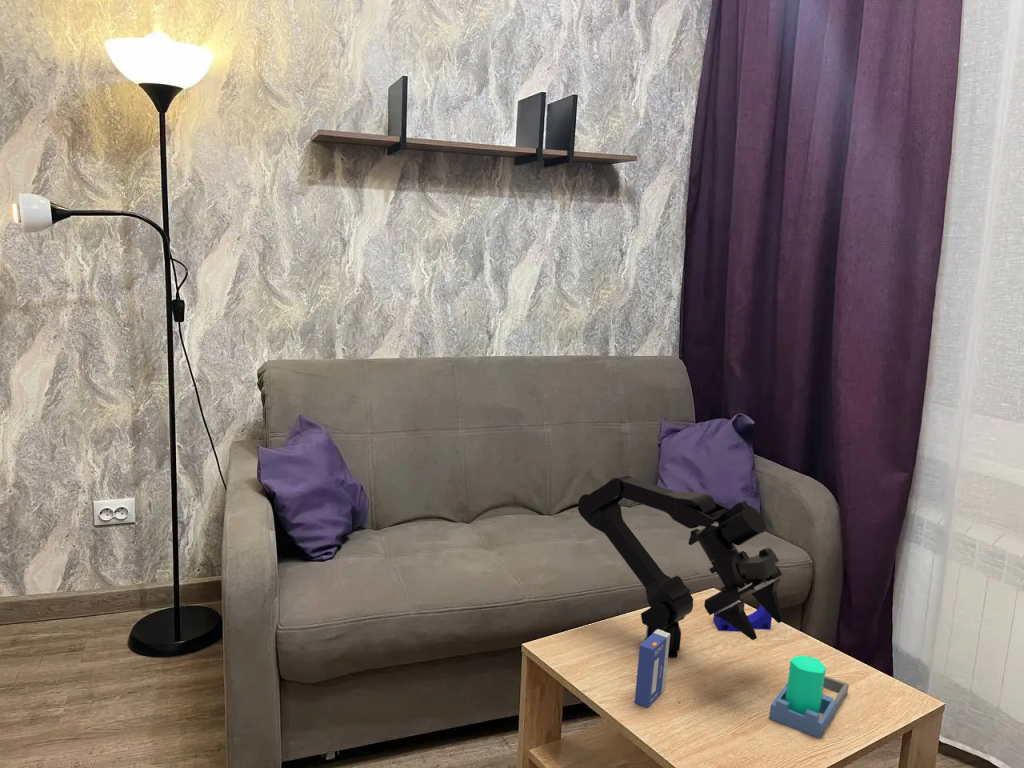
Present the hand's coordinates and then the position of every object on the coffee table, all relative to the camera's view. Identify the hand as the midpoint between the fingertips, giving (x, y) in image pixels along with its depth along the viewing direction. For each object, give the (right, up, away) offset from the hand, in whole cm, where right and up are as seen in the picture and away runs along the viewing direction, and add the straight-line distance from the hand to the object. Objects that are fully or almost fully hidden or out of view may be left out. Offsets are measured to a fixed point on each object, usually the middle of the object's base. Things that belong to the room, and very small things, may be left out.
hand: (768, 630), depth 152 cm
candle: (+5, -15, -3) cm, 16 cm away
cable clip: (+3, -8, +29) cm, 31 cm away
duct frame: (+8, -14, 0) cm, 16 cm away
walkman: (-22, -13, +1) cm, 25 cm away
